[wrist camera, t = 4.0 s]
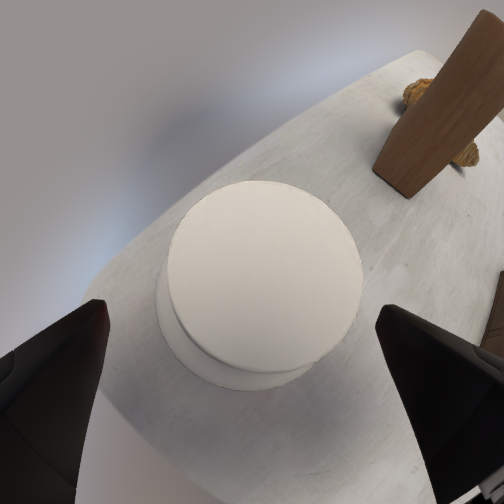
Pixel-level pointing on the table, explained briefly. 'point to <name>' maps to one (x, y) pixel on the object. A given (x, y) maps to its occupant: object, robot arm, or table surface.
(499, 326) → the grid
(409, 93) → the fossil
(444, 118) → the wooden block
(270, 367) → the pill bottle
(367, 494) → the table surface
